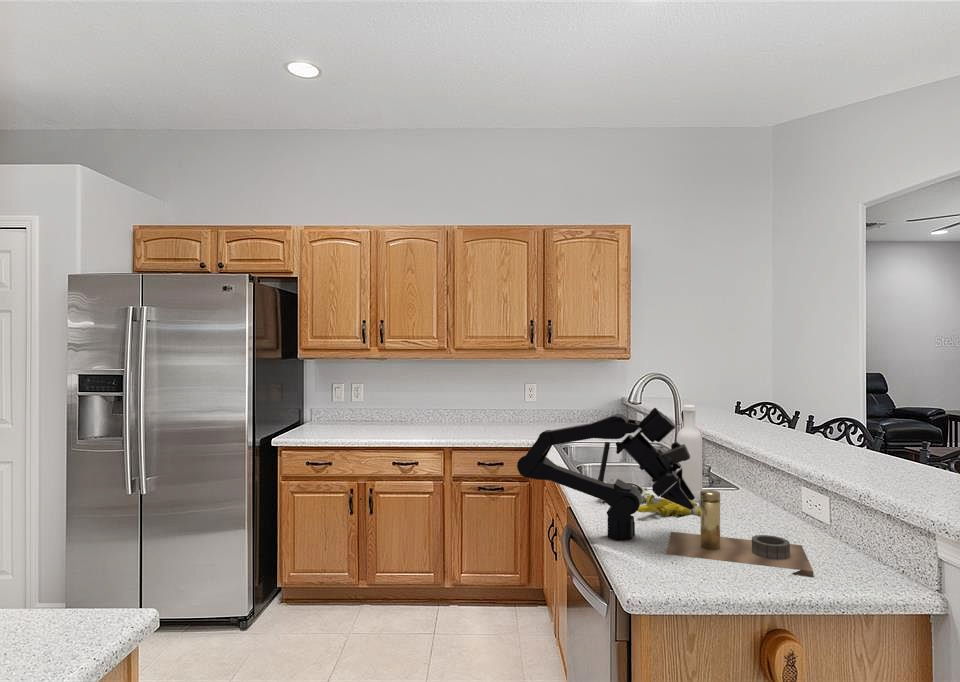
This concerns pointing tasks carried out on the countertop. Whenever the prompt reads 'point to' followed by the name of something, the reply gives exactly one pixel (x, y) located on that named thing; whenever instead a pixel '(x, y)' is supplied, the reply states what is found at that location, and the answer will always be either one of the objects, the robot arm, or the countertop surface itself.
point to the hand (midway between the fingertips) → (693, 503)
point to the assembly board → (744, 551)
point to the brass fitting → (710, 519)
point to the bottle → (691, 452)
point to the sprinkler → (668, 507)
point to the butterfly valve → (643, 491)
